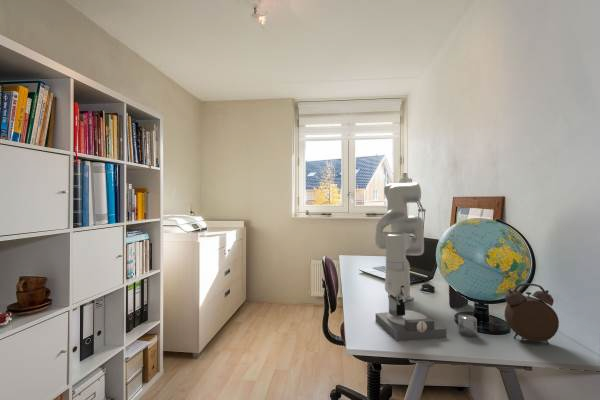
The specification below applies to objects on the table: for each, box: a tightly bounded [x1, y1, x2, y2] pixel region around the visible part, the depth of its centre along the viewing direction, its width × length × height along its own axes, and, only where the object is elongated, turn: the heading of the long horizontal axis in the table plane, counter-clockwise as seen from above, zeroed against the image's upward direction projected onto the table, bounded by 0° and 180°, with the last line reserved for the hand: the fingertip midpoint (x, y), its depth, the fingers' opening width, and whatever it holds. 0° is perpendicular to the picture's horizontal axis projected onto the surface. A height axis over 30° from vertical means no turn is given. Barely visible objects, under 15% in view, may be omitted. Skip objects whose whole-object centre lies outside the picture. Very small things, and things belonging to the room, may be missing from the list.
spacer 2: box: [457, 314, 478, 338], centre depth 109 cm, size 6×6×6 cm
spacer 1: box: [388, 296, 404, 317], centre depth 115 cm, size 6×6×6 cm
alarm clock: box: [504, 282, 560, 345], centre depth 102 cm, size 15×7×20 cm, turn 78°
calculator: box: [448, 284, 469, 309], centre depth 140 cm, size 11×4×15 cm, turn 123°
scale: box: [375, 309, 448, 342], centre depth 114 cm, size 19×19×6 cm
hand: (396, 311), depth 115 cm, fingers closed on spacer 1, 5 cm apart
